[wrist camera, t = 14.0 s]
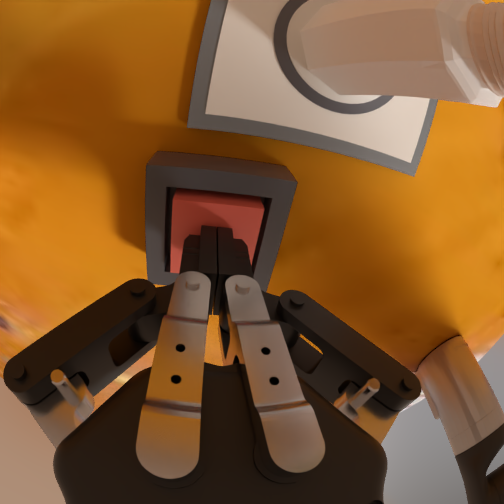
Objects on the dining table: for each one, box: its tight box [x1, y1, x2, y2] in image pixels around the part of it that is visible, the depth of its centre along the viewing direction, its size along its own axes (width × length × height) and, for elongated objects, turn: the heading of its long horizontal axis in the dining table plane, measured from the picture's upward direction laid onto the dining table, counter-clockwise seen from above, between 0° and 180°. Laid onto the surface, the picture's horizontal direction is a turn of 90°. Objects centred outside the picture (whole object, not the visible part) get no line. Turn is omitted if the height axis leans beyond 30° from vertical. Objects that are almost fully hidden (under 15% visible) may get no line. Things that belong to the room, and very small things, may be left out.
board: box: [187, 0, 438, 177], centre depth 10 cm, size 12×14×1 cm
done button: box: [170, 188, 264, 273], centre depth 14 cm, size 4×4×2 cm
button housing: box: [145, 151, 298, 292], centre depth 15 cm, size 7×7×2 cm
